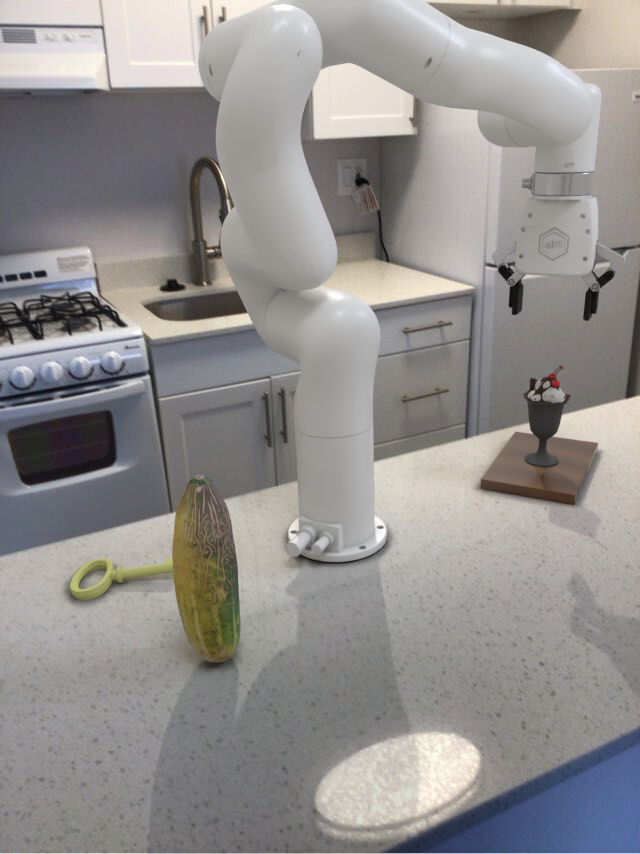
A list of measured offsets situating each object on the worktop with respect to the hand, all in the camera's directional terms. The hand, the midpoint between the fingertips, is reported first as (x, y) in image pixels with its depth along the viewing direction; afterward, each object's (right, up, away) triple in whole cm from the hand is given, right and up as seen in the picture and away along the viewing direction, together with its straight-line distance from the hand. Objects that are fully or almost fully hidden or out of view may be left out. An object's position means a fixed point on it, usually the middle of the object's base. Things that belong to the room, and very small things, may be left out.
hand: (551, 315), depth 105 cm
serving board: (+1, -22, +9) cm, 23 cm away
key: (-56, -34, -16) cm, 67 cm away
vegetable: (-43, -38, -29) cm, 65 cm away
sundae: (+1, -21, +8) cm, 22 cm away
